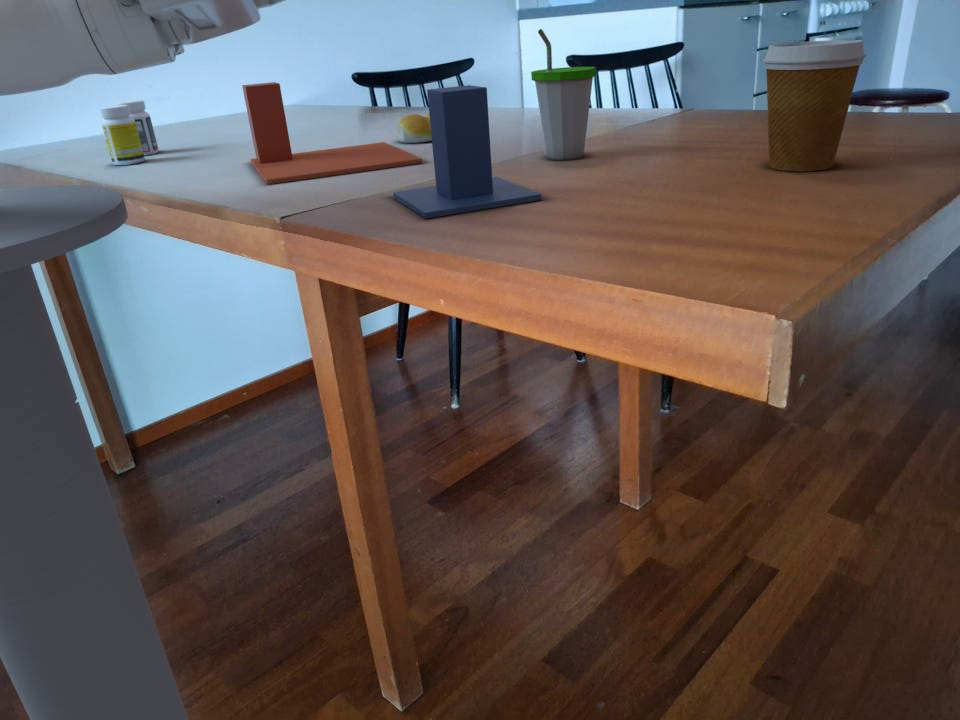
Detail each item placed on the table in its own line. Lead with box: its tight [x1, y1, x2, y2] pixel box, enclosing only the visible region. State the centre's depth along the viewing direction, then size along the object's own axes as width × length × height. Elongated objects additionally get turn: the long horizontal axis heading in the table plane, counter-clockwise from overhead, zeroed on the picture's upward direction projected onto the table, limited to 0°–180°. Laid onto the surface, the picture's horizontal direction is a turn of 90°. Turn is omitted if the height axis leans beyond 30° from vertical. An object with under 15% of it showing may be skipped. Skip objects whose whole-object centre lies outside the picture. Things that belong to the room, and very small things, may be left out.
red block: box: [241, 81, 293, 164], centre depth 100 cm, size 4×4×10 cm
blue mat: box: [392, 176, 542, 220], centre depth 74 cm, size 12×11×1 cm
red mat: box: [250, 141, 423, 185], centre depth 99 cm, size 20×19×1 cm
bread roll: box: [395, 113, 432, 144], centre depth 114 cm, size 8×9×4 cm
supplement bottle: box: [99, 104, 146, 166], centre depth 111 cm, size 5×5×8 cm
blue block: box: [426, 84, 493, 200], centre depth 71 cm, size 4×4×10 cm
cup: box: [530, 28, 597, 161], centre depth 88 cm, size 8×8×15 cm
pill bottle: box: [117, 99, 160, 156], centre depth 120 cm, size 5×5×8 cm
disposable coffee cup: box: [762, 39, 868, 172], centre depth 74 cm, size 10×10×12 cm
